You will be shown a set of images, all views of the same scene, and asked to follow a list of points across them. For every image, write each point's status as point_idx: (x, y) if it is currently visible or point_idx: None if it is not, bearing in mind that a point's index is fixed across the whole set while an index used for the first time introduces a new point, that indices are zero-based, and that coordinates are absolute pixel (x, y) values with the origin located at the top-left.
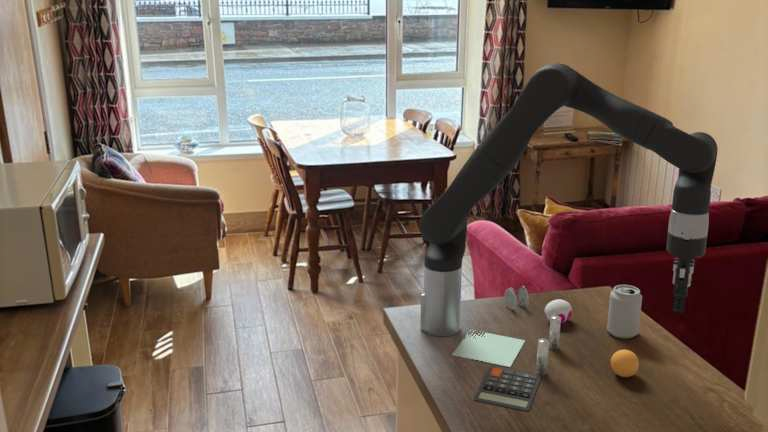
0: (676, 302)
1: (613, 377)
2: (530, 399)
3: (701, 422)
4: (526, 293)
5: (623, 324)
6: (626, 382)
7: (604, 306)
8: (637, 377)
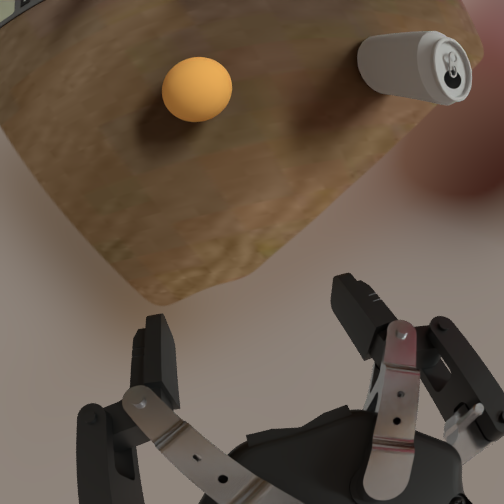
0: (134, 366)
1: None
2: (18, 11)
3: (114, 259)
4: None
5: (375, 62)
6: None
7: None
8: None
